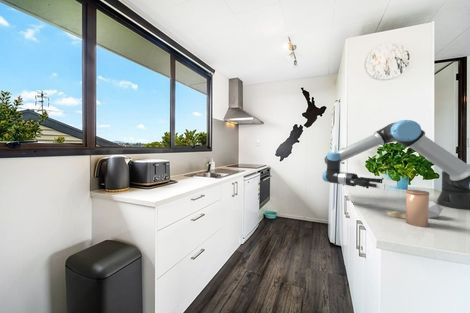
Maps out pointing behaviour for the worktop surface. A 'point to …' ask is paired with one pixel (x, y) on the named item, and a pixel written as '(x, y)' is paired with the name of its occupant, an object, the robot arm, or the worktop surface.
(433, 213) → the die
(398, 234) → the worktop surface
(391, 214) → the disc
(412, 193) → the jar
